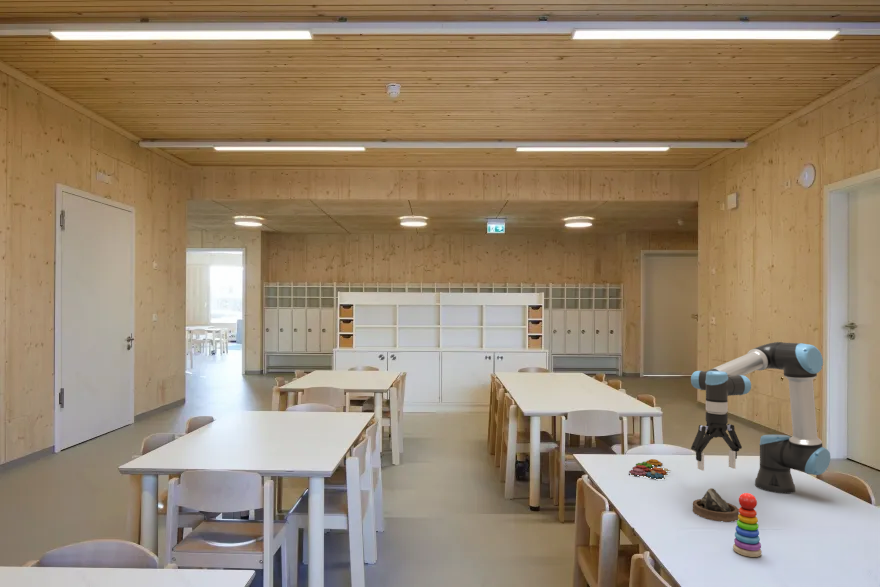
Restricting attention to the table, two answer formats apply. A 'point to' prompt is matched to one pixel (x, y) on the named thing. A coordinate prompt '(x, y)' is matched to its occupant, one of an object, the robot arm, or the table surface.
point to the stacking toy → (747, 528)
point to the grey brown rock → (714, 502)
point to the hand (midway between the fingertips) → (716, 468)
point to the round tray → (715, 515)
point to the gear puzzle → (649, 469)
